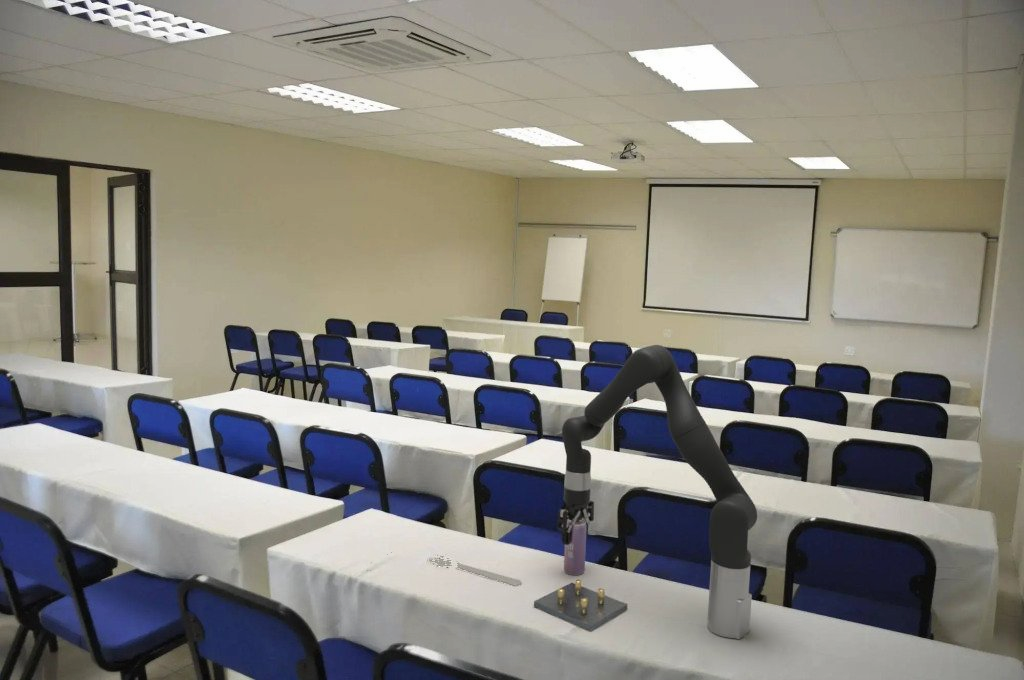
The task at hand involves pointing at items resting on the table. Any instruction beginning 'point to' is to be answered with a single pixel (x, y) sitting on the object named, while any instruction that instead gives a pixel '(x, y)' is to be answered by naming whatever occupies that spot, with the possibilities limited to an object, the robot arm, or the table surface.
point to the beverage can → (576, 549)
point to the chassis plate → (575, 607)
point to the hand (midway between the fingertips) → (574, 540)
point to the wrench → (479, 572)
